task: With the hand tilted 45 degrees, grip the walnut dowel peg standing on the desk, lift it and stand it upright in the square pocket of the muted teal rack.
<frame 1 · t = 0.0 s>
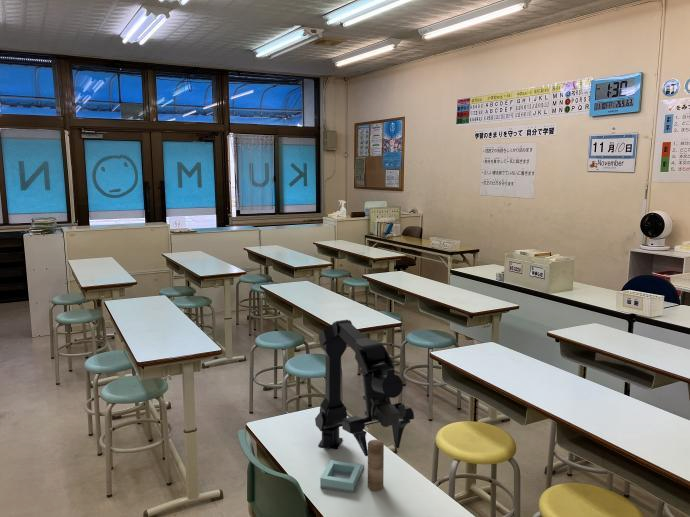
hand: (382, 451, 140), 15 cm above the table, tool pointing down, fingers open, 9 cm apart
pocket rack: (341, 480, 154), on the table
dowel peg: (375, 486, 151), on the table
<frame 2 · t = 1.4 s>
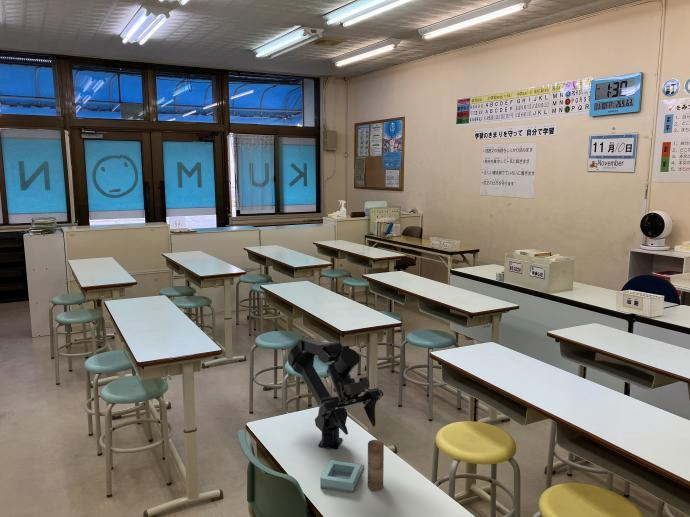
hand: (360, 430, 155), 13 cm above the table, tool tilted 45°, fingers open, 9 cm apart
nothing on the table moved.
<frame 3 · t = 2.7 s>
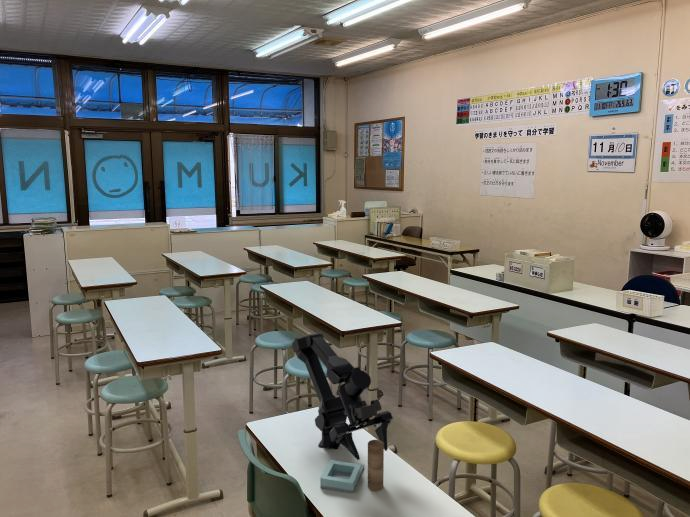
hand: (372, 454, 150), 9 cm above the table, tool tilted 45°, fingers open, 9 cm apart
nothing on the table moved.
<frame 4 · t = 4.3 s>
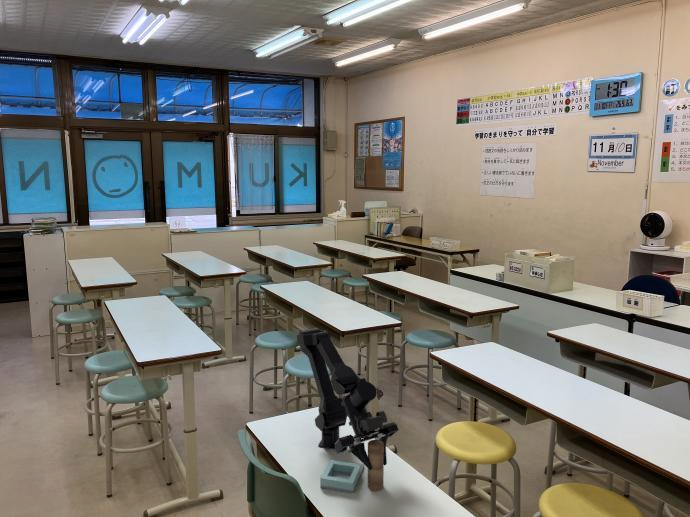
hand: (378, 467, 148), 7 cm above the table, tool tilted 45°, fingers closed on dowel peg, 4 cm apart
dowel peg: (375, 486, 151), on the table, touching gripper
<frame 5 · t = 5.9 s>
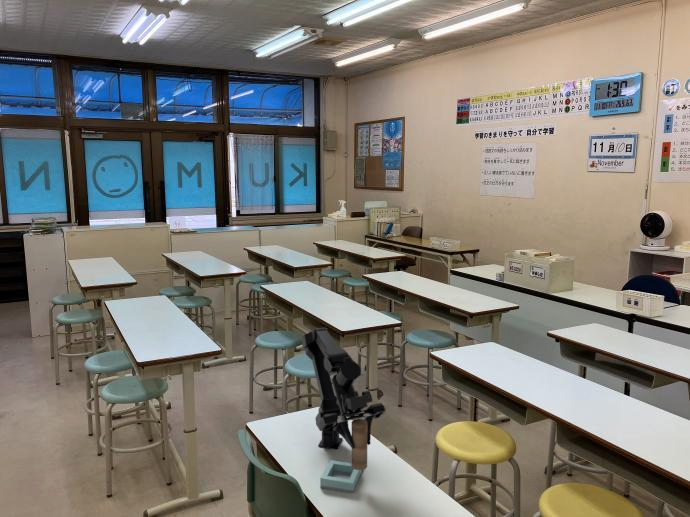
hand: (361, 446, 148), 12 cm above the table, tool tilted 45°, fingers closed on dowel peg, 4 cm apart
dowel peg: (359, 465, 151), point 6 cm above the table, touching gripper
when the fingers open (9 cm above the table, at t = 7.7 s): dowel peg drops 1 cm, resting on pocket rack.
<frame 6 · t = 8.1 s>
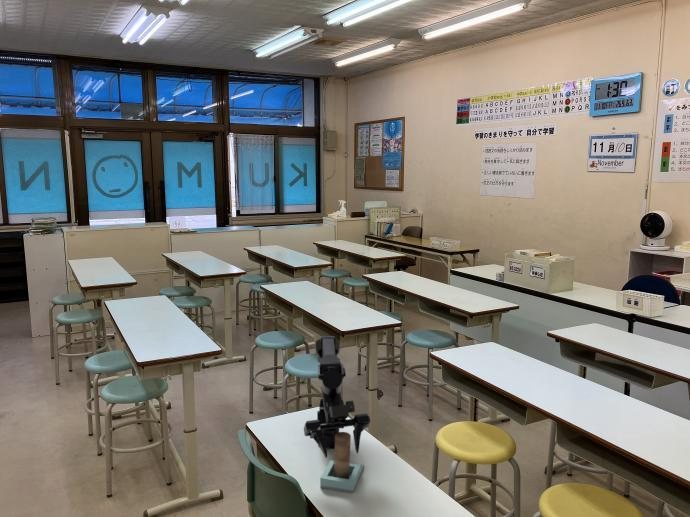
hand: (342, 455, 151), 9 cm above the table, tool tilted 45°, fingers open, 9 cm apart
dowel peg: (341, 477, 153), point 1 cm above the table, touching pocket rack
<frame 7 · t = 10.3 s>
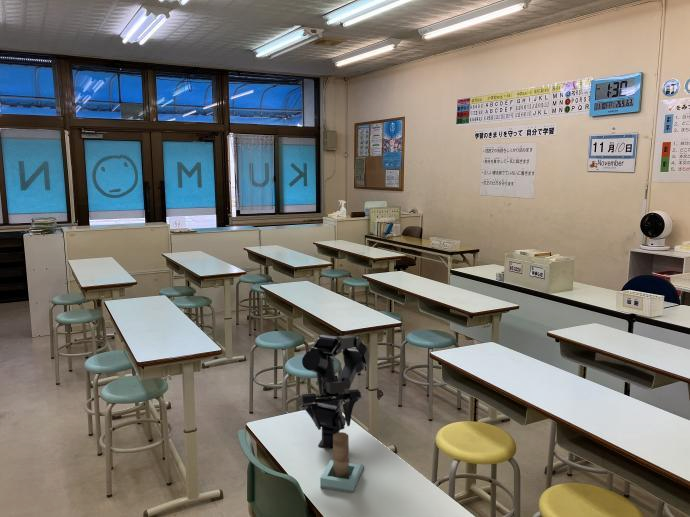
hand: (334, 427, 158), 13 cm above the table, tool tilted 35°, fingers open, 9 cm apart
nothing on the table moved.
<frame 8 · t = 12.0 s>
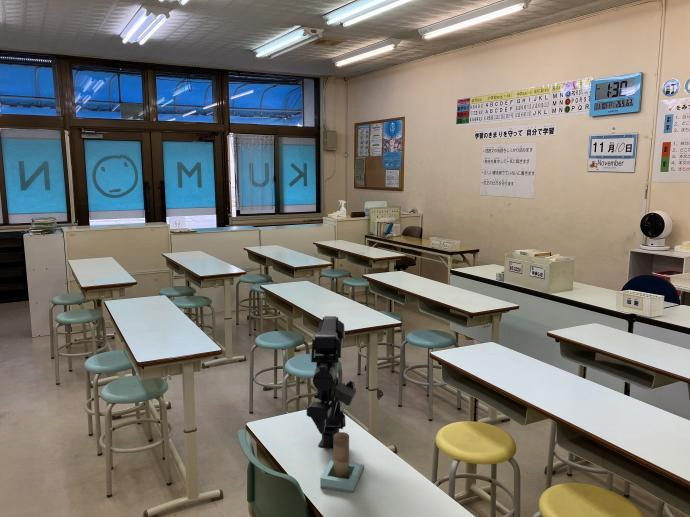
hand: (327, 426, 158), 13 cm above the table, tool pointing down, fingers open, 9 cm apart
nothing on the table moved.
at the end: dowel peg 0.1 cm off-centre on the pocket rack, point 0.8 cm above the pocket rack's base; dowel peg tilted 1°; the gripper is holding nothing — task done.
